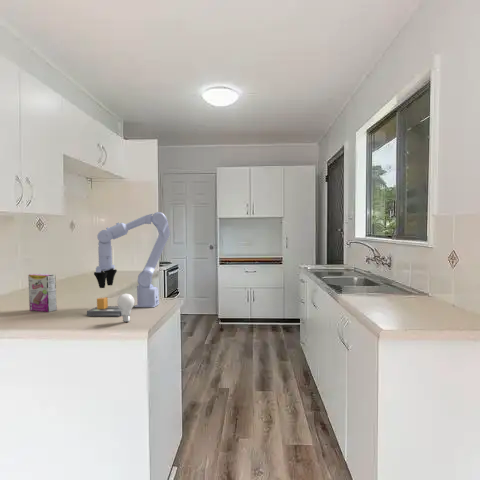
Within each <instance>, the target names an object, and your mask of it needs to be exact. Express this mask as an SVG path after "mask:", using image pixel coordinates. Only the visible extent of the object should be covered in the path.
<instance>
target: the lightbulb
mask: <svg viewBox="0 0 480 480" xmlns="http://www.w3.org/2000/svg"><path fill="white" fill-rule="evenodd" d="M116 302H117V303H116V304H117V306H118V307H119V308H120V309H121V312H122V314H123V315H122V321H123V322H124V323H129V322H130V321H131V312H132V310H131V309H133V307H134V306H135V298H134V296H133V295H132V294H130V293H122V294H121V295H119V297H118V298H117V301H116Z"/></svg>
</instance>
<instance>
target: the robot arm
mask: <svg viewBox="0 0 480 480" xmlns="http://www.w3.org/2000/svg"><path fill="white" fill-rule="evenodd" d="M152 224H153V226H154V227H155V228H156V230H157V232H158V236H157V238H156V241H155V243H154V244H153V247H152V250H151V251H150V254H149V257H148V259H147V260H146V263H145V265H144V267H143V270H142V271H141V272H140V273H139V274H138V276H137V283H138V284H137V286H136V295H137V296H136V298H137V302H136V303H137V304H136V305H135V304H134V306H133V307H134V308H156V307H157V306H158V305H160V298H159V297H160V296H159V295H160V294H159V292H160V291H159V288H158V286H154V285H153V284H152V283H153V275H154V272H155V268H156V267H157V266H158V265H157V264H158V262H159V260H160V258H161V255H162V254H163V251H164V248H166V247H165V246H166V244H167V242H168V240H169V238H170V235H171V232H170V228H169V227H170V225H169V221H168V217H167V216H166V215H165V214H164V213H163V212H161V211H156V212H154V213H149V214H145V215H143V216H140V217H138V218H136V219H134V220H132V221H130V222H127V223H124V222H116V223H115V225H113V226H110V227H108V226H107V227H105V229H102V230H100V231H99V232H98V234H97V235H96V236H97V240H98V242H97V243H98V244H97V245H98V246H97V247H98V250H97V251H98V255H97V256H98V266H96V267H95V272H93V275H94V276H95V278H96V281H97V284H98V287H99V289H105V288H106V284H107V286H113V283H114V279H115V277H116V273H117V272H118V269H115V267H116V265H115V264H113V252H112V250H113V249H112V240H116V239H118V238H121V237H123V236H125V235H128V233H129V230H133V229H134V228H135V229H136V228H137V227H140V226H143V225H152Z"/></svg>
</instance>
